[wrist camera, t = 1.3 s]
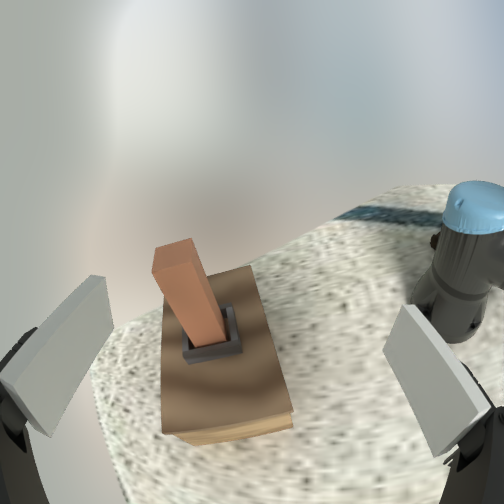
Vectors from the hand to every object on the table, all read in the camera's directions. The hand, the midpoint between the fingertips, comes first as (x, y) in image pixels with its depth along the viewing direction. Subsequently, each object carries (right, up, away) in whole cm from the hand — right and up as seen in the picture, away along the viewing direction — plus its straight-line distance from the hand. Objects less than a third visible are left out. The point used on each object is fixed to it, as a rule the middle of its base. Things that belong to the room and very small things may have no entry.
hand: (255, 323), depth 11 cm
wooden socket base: (-4, -15, +29) cm, 33 cm away
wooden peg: (-5, -8, +23) cm, 25 cm away
